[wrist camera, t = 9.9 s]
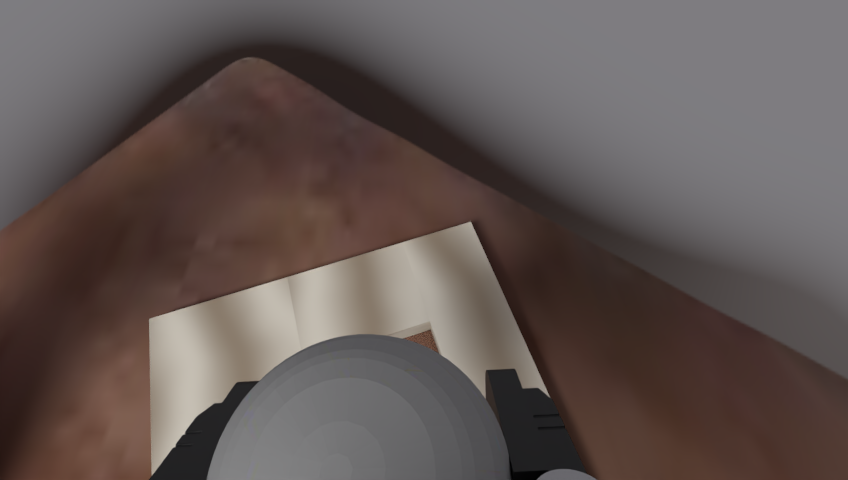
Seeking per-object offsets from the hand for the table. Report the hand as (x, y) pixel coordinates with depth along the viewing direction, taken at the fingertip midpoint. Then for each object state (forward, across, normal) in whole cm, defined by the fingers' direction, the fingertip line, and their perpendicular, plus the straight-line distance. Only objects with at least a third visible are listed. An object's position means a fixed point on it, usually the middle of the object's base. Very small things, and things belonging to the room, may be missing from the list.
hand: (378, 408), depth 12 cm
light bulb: (+2, 0, +5) cm, 5 cm away
